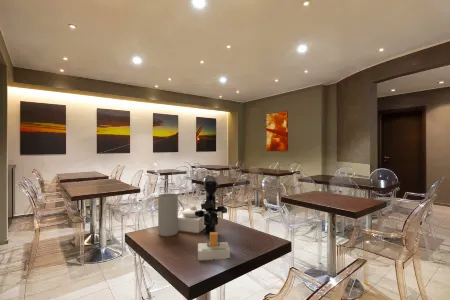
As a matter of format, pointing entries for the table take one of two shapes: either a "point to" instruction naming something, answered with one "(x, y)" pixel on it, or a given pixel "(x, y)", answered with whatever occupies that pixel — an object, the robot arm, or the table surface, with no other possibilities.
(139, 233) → the table surface
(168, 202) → the cylinder vase
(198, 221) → the butter dish
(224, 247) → the box
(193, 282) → the table surface
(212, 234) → the breaker lever
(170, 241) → the table surface
